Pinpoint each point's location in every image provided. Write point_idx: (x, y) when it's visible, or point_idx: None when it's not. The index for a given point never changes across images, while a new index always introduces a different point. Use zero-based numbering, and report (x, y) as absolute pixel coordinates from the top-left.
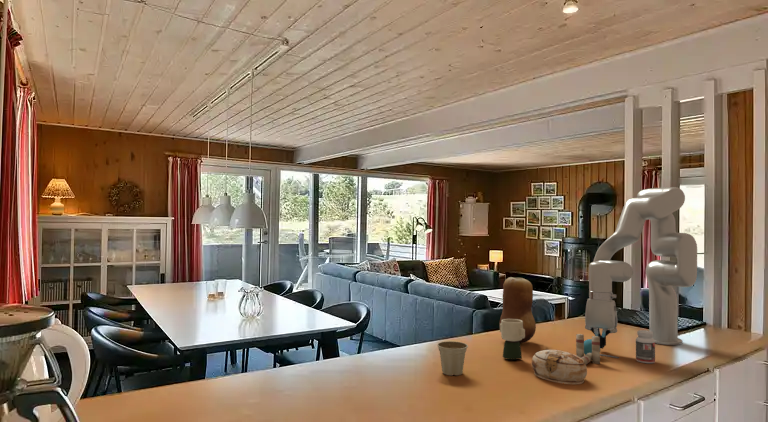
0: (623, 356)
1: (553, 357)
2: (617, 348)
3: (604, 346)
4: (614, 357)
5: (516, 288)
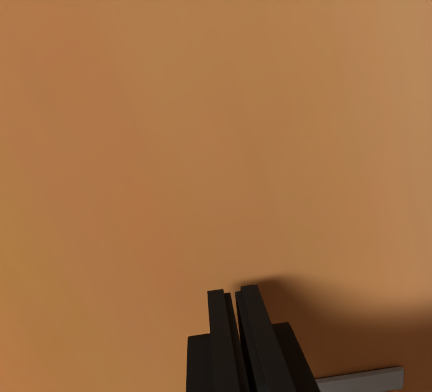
0: (422, 308)
1: None
2: (314, 42)
3: (256, 285)
4: (373, 389)
5: None
